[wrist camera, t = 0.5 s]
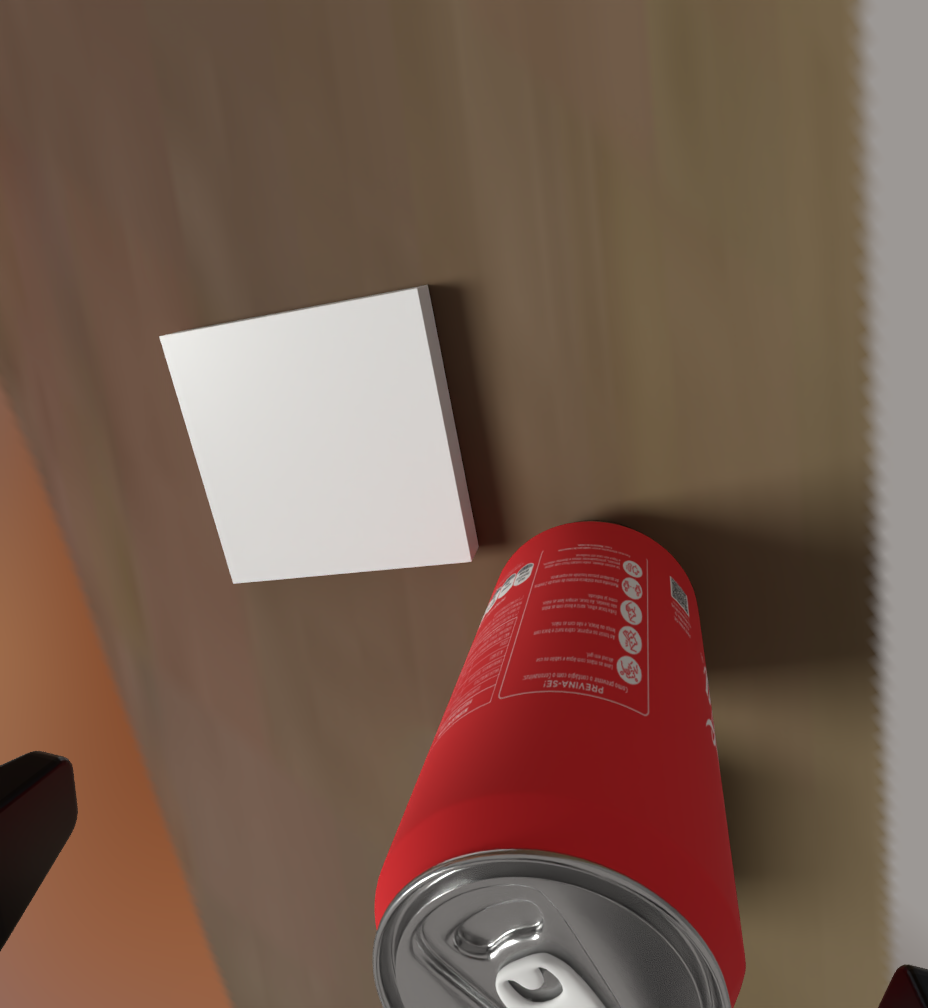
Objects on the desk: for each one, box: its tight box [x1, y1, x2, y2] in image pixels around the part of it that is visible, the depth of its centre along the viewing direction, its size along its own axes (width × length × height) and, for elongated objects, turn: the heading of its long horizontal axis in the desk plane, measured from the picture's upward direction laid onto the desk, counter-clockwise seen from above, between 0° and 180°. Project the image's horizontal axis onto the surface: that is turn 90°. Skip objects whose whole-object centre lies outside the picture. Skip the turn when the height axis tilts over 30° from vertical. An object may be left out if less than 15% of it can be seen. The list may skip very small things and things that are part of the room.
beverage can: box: [373, 521, 746, 1008], centre depth 16 cm, size 5×5×12 cm
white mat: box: [160, 285, 479, 584], centre depth 21 cm, size 7×7×1 cm
